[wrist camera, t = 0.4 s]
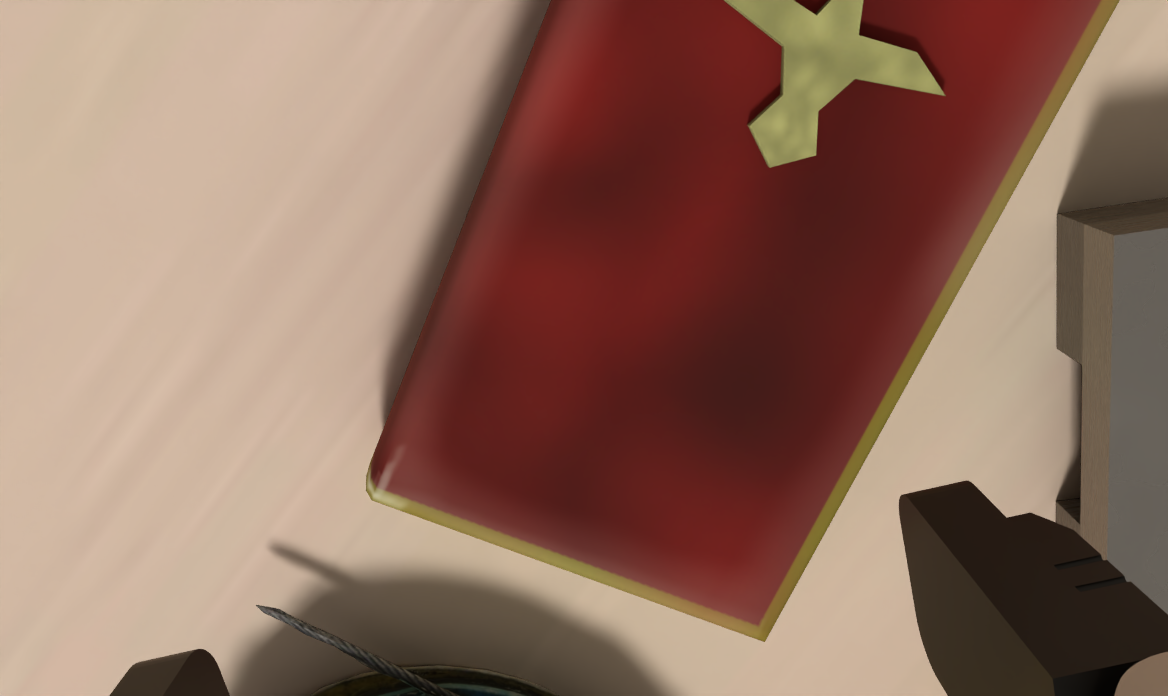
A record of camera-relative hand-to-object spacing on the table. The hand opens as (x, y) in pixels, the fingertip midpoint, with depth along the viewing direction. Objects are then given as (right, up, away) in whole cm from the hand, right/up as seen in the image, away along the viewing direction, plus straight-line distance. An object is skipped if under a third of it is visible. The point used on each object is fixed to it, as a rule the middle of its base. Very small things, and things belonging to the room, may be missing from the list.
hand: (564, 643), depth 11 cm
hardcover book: (+4, +8, +17) cm, 19 cm away
